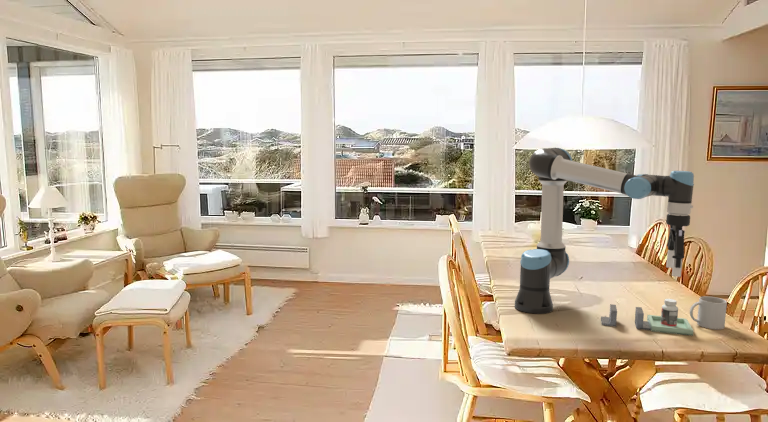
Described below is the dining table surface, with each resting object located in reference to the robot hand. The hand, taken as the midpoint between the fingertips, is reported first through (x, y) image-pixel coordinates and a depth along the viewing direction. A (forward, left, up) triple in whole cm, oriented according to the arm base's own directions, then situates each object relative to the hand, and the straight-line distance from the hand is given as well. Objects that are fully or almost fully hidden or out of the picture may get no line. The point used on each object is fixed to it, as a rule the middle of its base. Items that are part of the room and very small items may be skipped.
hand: (673, 271), depth 202 cm
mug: (+14, +8, -21) cm, 27 cm away
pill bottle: (0, 0, -21) cm, 21 cm away
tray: (0, 0, -21) cm, 21 cm away
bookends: (-15, -2, -21) cm, 26 cm away
